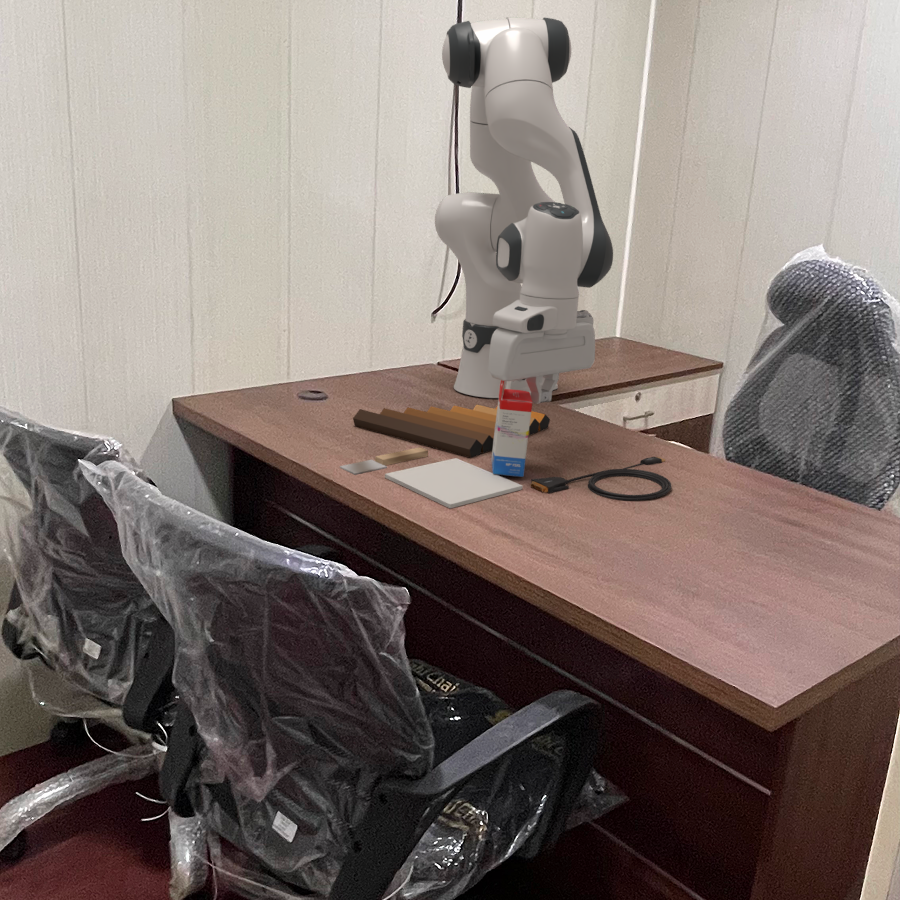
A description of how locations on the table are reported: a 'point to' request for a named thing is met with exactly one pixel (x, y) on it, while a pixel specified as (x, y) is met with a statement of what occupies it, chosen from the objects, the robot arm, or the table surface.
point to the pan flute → (443, 427)
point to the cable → (560, 483)
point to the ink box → (511, 431)
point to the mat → (453, 482)
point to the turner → (385, 460)
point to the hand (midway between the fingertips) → (540, 401)
